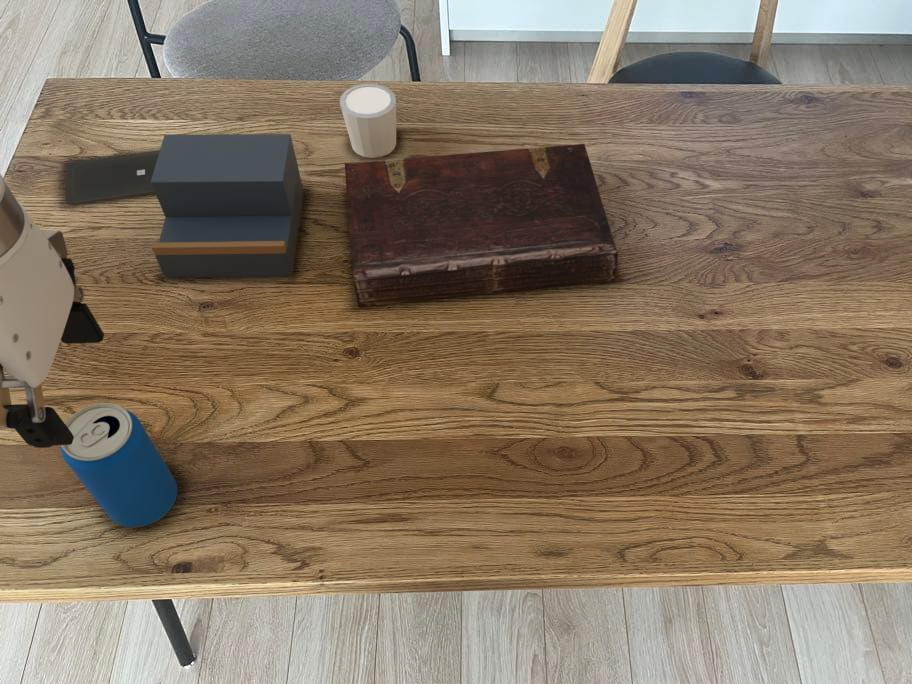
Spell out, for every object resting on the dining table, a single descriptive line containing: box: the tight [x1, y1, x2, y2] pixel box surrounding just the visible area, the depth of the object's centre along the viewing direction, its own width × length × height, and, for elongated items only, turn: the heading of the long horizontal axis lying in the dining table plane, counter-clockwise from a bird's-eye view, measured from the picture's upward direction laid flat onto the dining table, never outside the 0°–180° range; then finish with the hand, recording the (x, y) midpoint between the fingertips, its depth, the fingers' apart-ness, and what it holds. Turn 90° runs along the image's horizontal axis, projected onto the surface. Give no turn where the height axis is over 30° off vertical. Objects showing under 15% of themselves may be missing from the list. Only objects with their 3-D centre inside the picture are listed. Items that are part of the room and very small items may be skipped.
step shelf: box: [151, 133, 305, 279], centre depth 98 cm, size 14×14×9 cm
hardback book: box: [344, 143, 619, 308], centre depth 101 cm, size 29×19×5 cm, turn 100°
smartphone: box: [64, 150, 160, 206], centre depth 106 cm, size 8×15×1 cm, turn 105°
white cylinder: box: [339, 83, 397, 159], centre depth 109 cm, size 7×7×7 cm
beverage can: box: [60, 402, 178, 528], centre depth 77 cm, size 6×6×12 cm
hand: (69, 388), depth 67 cm, fingers open, 9 cm apart
